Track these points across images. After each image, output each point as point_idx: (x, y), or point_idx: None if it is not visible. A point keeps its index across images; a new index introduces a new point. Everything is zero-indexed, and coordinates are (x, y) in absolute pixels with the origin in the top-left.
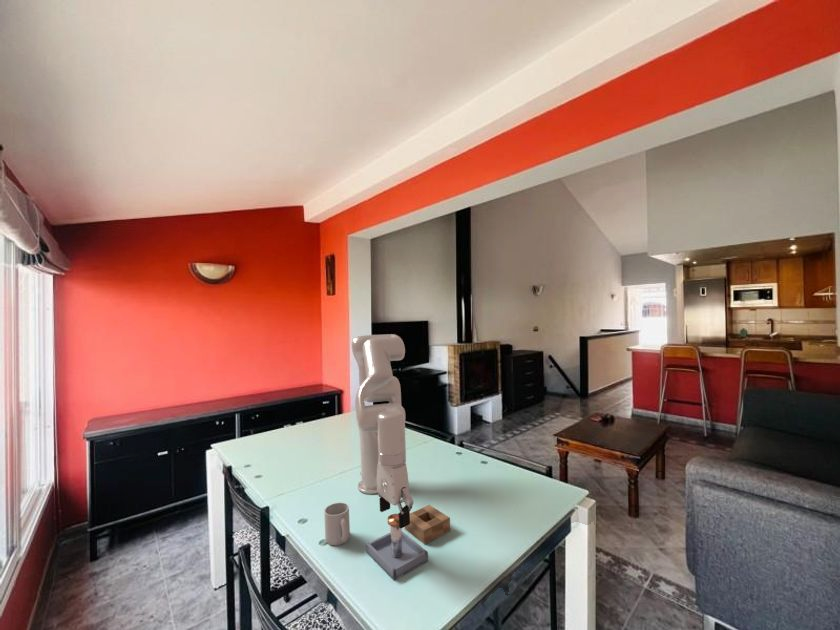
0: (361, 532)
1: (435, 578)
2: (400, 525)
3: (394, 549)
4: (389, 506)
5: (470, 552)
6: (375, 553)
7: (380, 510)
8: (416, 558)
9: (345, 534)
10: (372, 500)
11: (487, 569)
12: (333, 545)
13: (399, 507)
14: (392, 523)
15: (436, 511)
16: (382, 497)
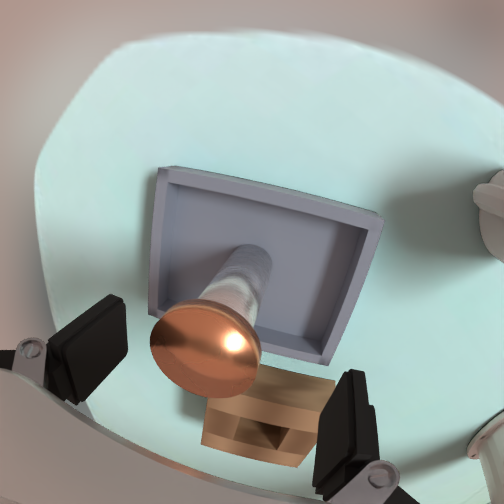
0: (463, 288)
1: (103, 253)
2: (101, 303)
3: (234, 257)
4: (319, 424)
5: (122, 368)
6: (298, 195)
7: (356, 375)
8: (149, 270)
9: (484, 190)
10: (492, 401)
11: None
12: (497, 173)
13: (26, 373)
14: (176, 309)
15: (254, 455)
16: (349, 467)
